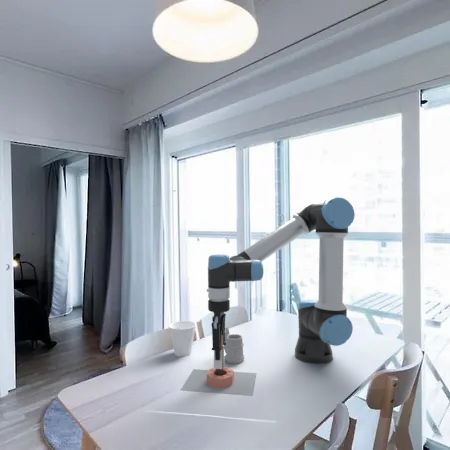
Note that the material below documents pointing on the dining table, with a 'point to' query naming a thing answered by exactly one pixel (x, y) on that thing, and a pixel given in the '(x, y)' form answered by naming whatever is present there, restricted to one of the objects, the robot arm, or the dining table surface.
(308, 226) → the robot arm
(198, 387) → the mat
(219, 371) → the brown wooden bar
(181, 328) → the cup
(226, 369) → the bead
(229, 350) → the mug
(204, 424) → the dining table surface
